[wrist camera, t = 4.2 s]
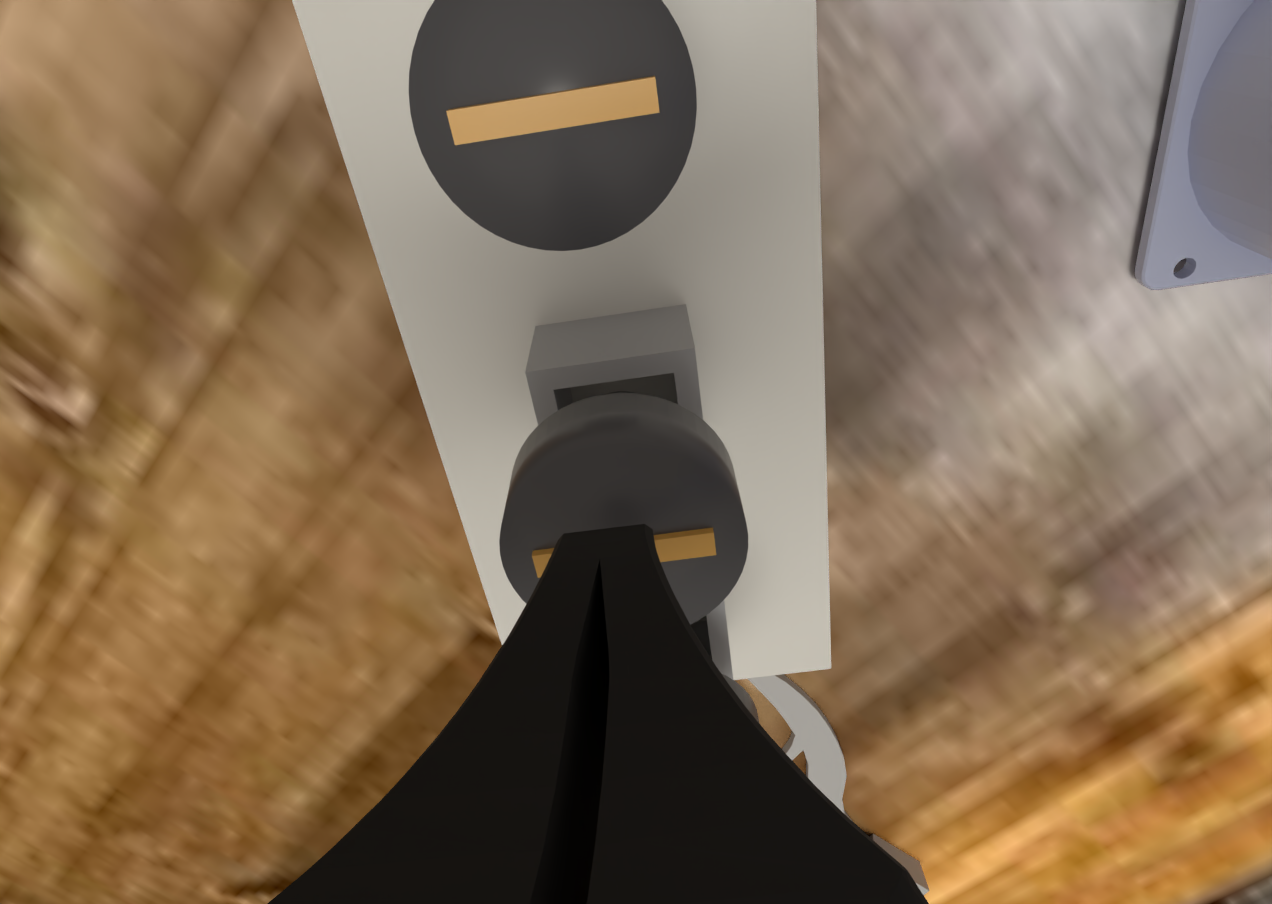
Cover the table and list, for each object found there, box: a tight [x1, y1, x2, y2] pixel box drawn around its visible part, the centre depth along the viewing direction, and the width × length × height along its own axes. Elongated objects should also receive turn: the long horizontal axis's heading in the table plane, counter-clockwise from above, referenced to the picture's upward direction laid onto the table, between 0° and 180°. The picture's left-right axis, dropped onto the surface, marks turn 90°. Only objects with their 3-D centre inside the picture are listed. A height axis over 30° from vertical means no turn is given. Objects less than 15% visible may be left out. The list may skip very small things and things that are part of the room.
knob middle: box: [499, 391, 748, 625], centre depth 16 cm, size 4×4×4 cm
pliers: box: [747, 674, 929, 895], centre depth 31 cm, size 10×2×15 cm
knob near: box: [409, 0, 697, 251], centre depth 14 cm, size 4×4×4 cm
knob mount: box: [292, 0, 831, 680], centre depth 19 cm, size 10×22×4 cm, turn 8°
